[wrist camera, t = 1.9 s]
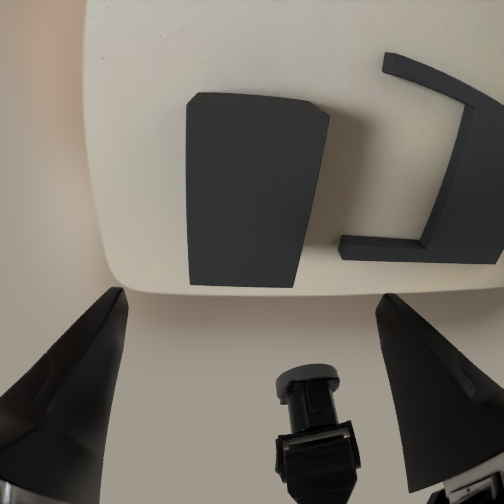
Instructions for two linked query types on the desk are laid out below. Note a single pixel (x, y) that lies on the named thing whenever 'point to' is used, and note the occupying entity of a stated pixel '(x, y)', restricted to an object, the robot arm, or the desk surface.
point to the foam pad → (250, 186)
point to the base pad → (452, 184)
